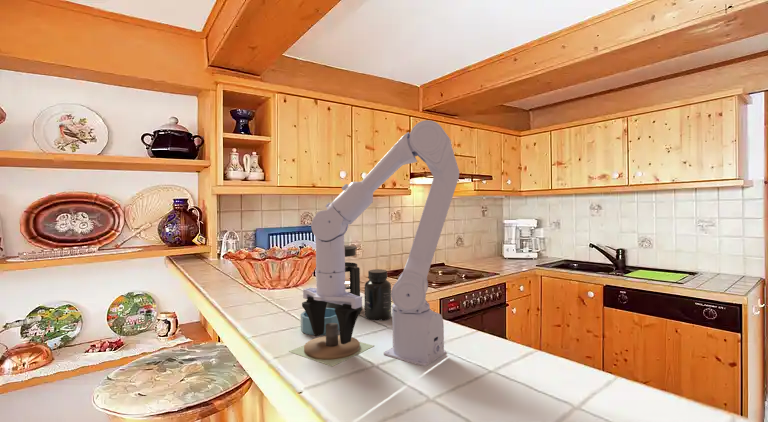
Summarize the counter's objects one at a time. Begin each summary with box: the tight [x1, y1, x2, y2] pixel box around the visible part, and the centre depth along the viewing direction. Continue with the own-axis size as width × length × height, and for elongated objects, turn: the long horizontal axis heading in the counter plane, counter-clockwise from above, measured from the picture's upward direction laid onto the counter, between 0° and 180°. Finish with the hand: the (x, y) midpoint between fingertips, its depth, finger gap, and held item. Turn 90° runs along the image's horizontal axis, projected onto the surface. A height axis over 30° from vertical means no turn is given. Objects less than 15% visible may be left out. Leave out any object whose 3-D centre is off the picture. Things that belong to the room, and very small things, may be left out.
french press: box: [326, 244, 361, 309], centre depth 109 cm, size 12×9×23 cm
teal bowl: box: [300, 308, 340, 336], centre depth 90 cm, size 9×9×4 cm
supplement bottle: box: [364, 268, 392, 321], centre depth 99 cm, size 7×7×12 cm
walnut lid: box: [303, 323, 360, 360], centre depth 78 cm, size 11×11×5 cm
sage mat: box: [288, 341, 375, 367], centre depth 78 cm, size 12×12×1 cm
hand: (331, 338), depth 78 cm, fingers open, 7 cm apart
